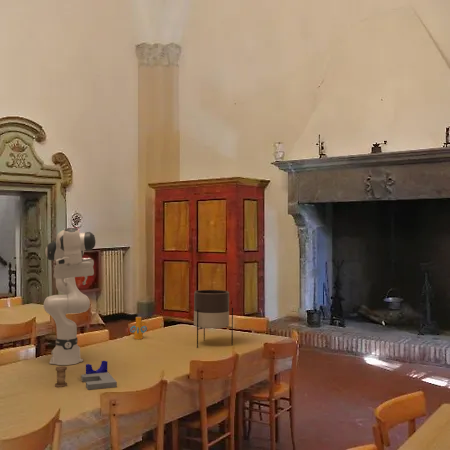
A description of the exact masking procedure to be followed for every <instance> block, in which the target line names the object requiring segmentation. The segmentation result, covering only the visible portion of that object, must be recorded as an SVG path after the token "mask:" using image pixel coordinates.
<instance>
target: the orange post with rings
mask: <svg viewBox="0 0 450 450" xmlns="http://www.w3.org/2000/svg"><path fill="white" fill-rule="evenodd" d="M142 322H143V321H142V316H135V325H132V326H131V327H130V328H129V332H130V333H133V338H134V340H142V339H143V337H144V335H143V334H144V333H146V332H147V330H148V327H147V326H146V325H143V326H142V324H143V323H142Z"/></svg>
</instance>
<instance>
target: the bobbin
mask: <svg viewBox="0 0 450 450" xmlns="http://www.w3.org/2000/svg"><path fill="white" fill-rule="evenodd" d="M67 367H68V366H67V365H58V366H56V367H55V371H56V383H54V385H55V387H56V388H66V387H67V386H68V383H67V382H66V371H67Z"/></svg>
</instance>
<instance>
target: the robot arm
mask: <svg viewBox="0 0 450 450" xmlns="http://www.w3.org/2000/svg"><path fill="white" fill-rule="evenodd" d="M96 240H97V239H96V237H95V235H94V233H92V232H91V231H85V232H80V230H79V229H78V228H76V227H68V228H65V229H63V230H60V231H59V232H58V233H57V235H56V241H54V240H52V242H49V243H48V244H47V245H46V247H45V250H44V252H45V253H44V254H45V256H46V259H47V260H49V261H51V262H53V261H55V266H54V270H53V271H54V272H53V278H55V288H56V290H57V291H58V292H59V293H61V294H53V295H50V296H49V295H48V296H47V297H46V298H45V299H44V302H43V310H44V311H45V312H46V313H47V314H48V315H50V316H51V318H52V319H53V320H54V322H55V326H56V338H55V347H54V348H53V349H52V350H51V357H50V360H49V363H48V364H49V365H58V366H68V365H75V364H79V363H81V362H84V359H83V358H82V357H81V347H80V346H79V345H78V341H79V340H78V337H77V335H78V333H77V331H78V330H77V328H78V326H77V323H76V322H75V321H74V320H72V319H70V318H67V316H66V315H69V314H82V313H85V312H88V310H89V309H90V306H91V300H90V298H89V297H88V296H87V294H85V293H83V292H81V291H80V290H79V288H78V286H77V283H76V278H81V277H84V280H83V281H82V285H83V286H85V285H86V282H87V280H88V277H90V276H94V274H95V270H94V265H95V260H94V259H93V258H91V257H88V258H84V257H83V256H84V253H85V251H92V250H93V249H94V248H95V247H96Z"/></svg>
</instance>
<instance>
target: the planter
mask: <svg viewBox="0 0 450 450" xmlns="http://www.w3.org/2000/svg"><path fill="white" fill-rule="evenodd" d="M193 303H194V305H193V325H194V327H196V349H199V330H202V329H203V341H205V339H206V333H205V332H206V331H205V330H206V329H215V330H216V329H223V328H231V346H234V344H233V340H234V339H233V338H234V337H233V335H234V332H233V330H234V329H233V327H234V326H233V325H234V308H233V307H231V326H229V325H230V291H228V290H222V289H198V290H195V291H194V296H193Z"/></svg>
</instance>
